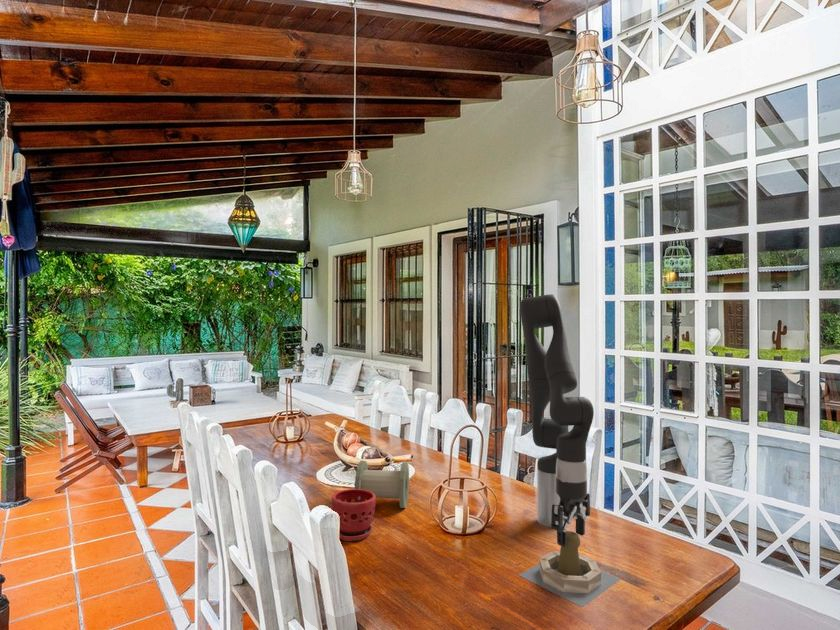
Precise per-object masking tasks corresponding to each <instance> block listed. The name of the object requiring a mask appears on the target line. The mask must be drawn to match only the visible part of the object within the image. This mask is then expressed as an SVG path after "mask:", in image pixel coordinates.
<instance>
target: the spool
mask: <svg viewBox="0 0 840 630" xmlns="http://www.w3.org/2000/svg"><path fill="white" fill-rule="evenodd" d="M367 462H368V461H366V460H359V462H358V464H357V468H356V472H355V479H354V489H362V490H367V491H370V492H372V493H374V494H375V496H376V499H398V500H399V501H398V502H399V508H400V509H407V506H408V500H409V491H410V489H409V487H410V470H409V469H410V468H409V462H408V461H402V462H401V465H400V466H401V467H400V470H383V469H382V470H381V469H379V470H378V469H369V467H368V463H367ZM358 499H361V497H358ZM365 501H367V499H365Z"/></svg>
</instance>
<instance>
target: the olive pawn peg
mask: <svg viewBox="0 0 840 630" xmlns="http://www.w3.org/2000/svg"><path fill="white" fill-rule="evenodd" d="M566 532H567V545H566V546H565V547H563V546H561V545H560V551H559V552H560V556H559V563H558V570H557V572H559V573H561V574H564V575H567V576H581V569H580V561H579V554H580V553H579V547H580V546H581V538H580V536H579V534H577V533H576V532H574V531H571V530H570V531H569V530H566Z"/></svg>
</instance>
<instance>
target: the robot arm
mask: <svg viewBox="0 0 840 630" xmlns="http://www.w3.org/2000/svg"><path fill="white" fill-rule="evenodd" d="M562 312H563V311H562V308H561V304H560V302H559V299H558V298H557V296H556V295H555V294H543V295H538V296H537V295H536V296H530V297H526V298H525V297H524V298H523V299H521V301H520V304H519V313H520V320H521V321H520V322H521V325H522V332H523V338H524V345H525V353H526V365H527V366H526V368H527V380H528V386H529V394H530V403H531V424H532V425H531V426H532V427H531V428H532V431H531V432H532V440H533V443H534V444H535V446H537V447H539V448H544V449H545V448H546V449H552V450H556V451H555V452H554V453H552V454H549V455H545V456H541V457H539V458H538V459H537V464H536V465H537V466H536V467H537V468H536V472H537V473H536V475H537V476H536V478H537V479H536V480H537V481H536V483H537V484H536V486H537V490H536V496H537V497H536V498H537V499H536V504H537V505H536V511H537V512H536V523H537V524H539V525H541V526H543V527H547V528H550V529H551V530H555V531H556V542H557V544H558V545H559V546H560V547H561V546H563V547H565V546H566V545H567V532H566V531H568V529H567V528H568V527H569V525H570V524H572V521H573V519H574V518H575V533H576V534H577V535H578V536H579V535H580V536H584V535H585V534H586V530H585V529H586V525H585V523H586V521H587V519H588V518H587V517H590V516H591V498H590V497H591V495H590V493H588V466H587V441H588V438H589V433H590V430H591V426H592V424H593V421H594V415H595V414H594V412H595V411H594V406H593V404H592V402H591V400H590V399H589V398H587V397H585V396H564V395H565V394H569V393H571V392H573V391H575V390H576V389H577V386H578V380H577V377H576V373H575V370H574V367H573V364H572V361H571V357H570V353H569V348H568V342H567V341H568V340H567V334H566V329H565V323H564V319H563V318H564V317H563V313H562ZM548 327H552V337H551V340H550V343H549V346H548V348H545V347H544V345H543V344H542V342H540V340H539V338H538V337H537V335H536V332H535V330H537V329H543V328H548ZM548 405H549V416H550V418H548V417H544V412H545V410H546V408H547V407H548ZM569 426H573V427H572V428H571V430H569Z"/></svg>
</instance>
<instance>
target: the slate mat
mask: <svg viewBox="0 0 840 630" xmlns="http://www.w3.org/2000/svg"><path fill="white" fill-rule="evenodd" d="M553 570H555V571H557V570H558V567H555V568H554V569H553ZM600 571H601V585H600V586H598V587H597V588H595V589H594V590H592V591H591V592H590V593H570V592H562V591H560V590H558V589H556V588H554V587H552V586H550V585H548V584H546V583H544V582H543V579H542V576H541V573H540V570H539V563H538V564H536V565H534V566H532V567H531V568H529V569H527V570H525V571H523V572H522V573H520V574H518V576H519V577H520V578H524V579H525V580H527V581H529V582H531V583H533V584H535V585H538V586H539V587H541V588H543V589H545V590H546V591H549V592H551V593H553V594H554V595H557V596H559V597H561V598H563V599H565V600H567V601H568V602H571V603H573V604H575V605H577V606H579V607H581V608H584V607H585V606H587V604H589V603H590V602H591V601H593V600H595V599H596V598H597V597H599V596H600V595H601V594H602V593H605V591H607V590H608V589H609V588H611V587H613V586H614V585H615V584H617V582H619V581H621V578H620V577H617V576H615V575H613V574H611V573H608V572H606V571H604V570H600ZM585 574H587V573H585V572H583V571H581V576H584V575H585Z"/></svg>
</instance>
